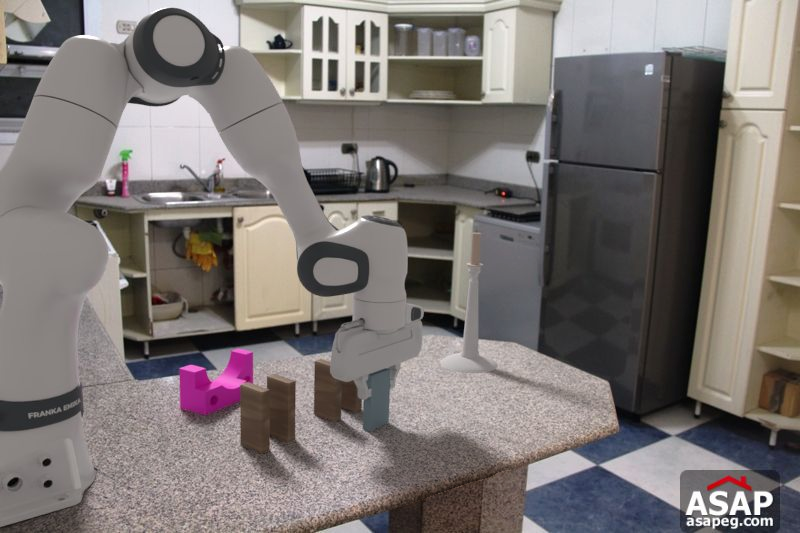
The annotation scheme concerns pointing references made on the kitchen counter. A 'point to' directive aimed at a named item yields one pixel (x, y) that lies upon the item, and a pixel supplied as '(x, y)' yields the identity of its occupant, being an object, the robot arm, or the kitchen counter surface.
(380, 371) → the domino
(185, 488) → the kitchen counter surface
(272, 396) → the domino
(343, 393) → the domino
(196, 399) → the toy block
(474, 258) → the candlestick
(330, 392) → the domino
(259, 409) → the domino
